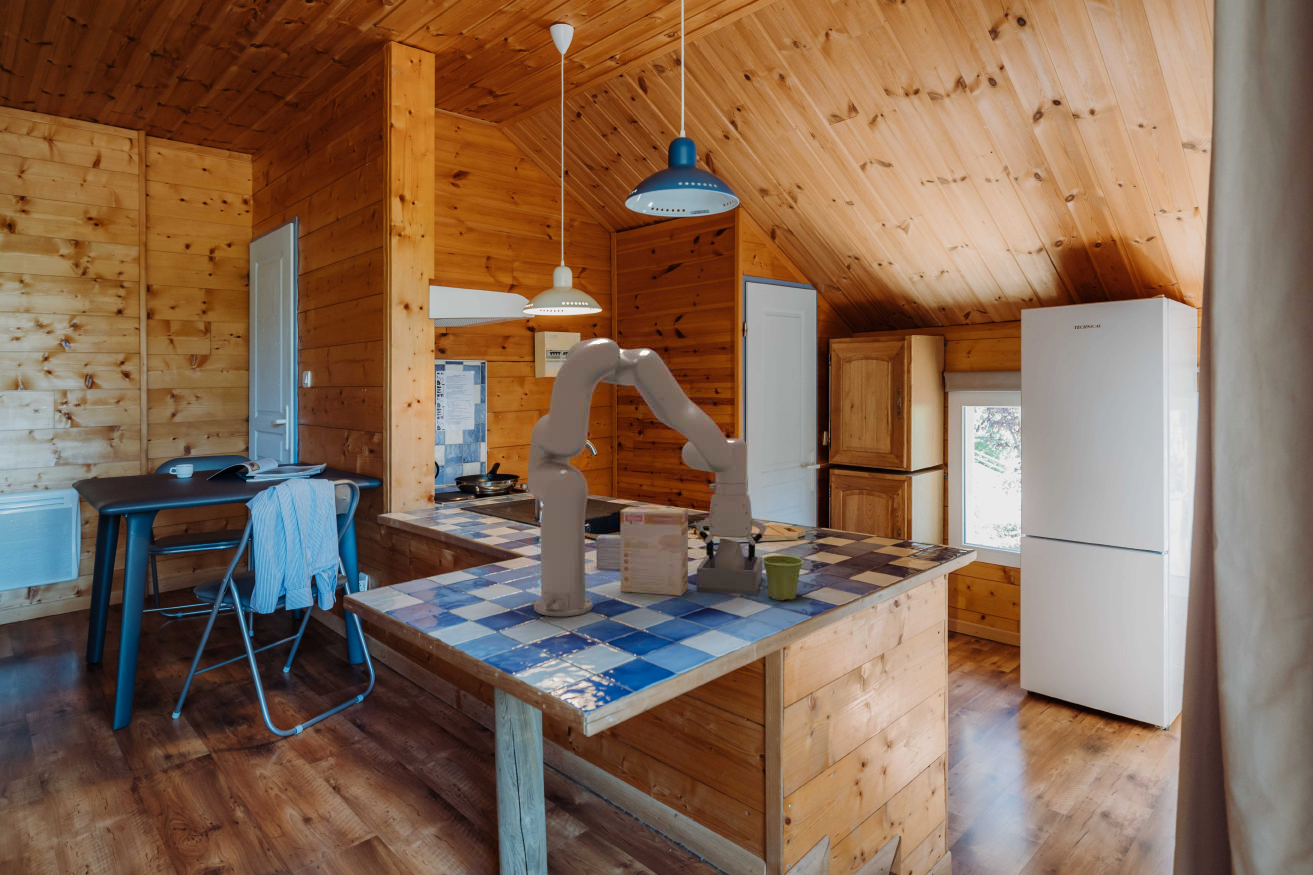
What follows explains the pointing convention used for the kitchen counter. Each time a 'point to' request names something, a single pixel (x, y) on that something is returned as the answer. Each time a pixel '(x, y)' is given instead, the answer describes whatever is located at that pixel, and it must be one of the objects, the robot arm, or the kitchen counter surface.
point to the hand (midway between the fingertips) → (730, 559)
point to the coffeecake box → (654, 550)
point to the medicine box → (608, 552)
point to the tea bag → (729, 555)
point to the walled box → (729, 577)
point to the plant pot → (782, 576)
